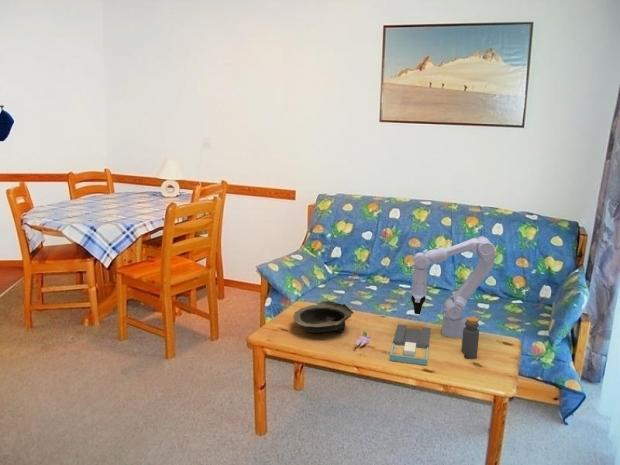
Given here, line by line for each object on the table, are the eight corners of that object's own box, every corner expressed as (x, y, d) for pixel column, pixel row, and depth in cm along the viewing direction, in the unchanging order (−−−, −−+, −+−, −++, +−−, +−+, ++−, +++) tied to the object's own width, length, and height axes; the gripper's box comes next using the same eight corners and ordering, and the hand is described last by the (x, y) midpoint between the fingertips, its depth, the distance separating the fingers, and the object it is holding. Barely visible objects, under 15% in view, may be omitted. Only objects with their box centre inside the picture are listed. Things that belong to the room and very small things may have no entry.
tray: (428, 352, 211) (428, 346, 211) (426, 365, 200) (427, 359, 200) (392, 348, 214) (393, 342, 214) (389, 361, 203) (389, 354, 203)
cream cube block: (415, 352, 210) (416, 343, 209) (414, 357, 206) (415, 347, 206) (404, 351, 211) (405, 341, 210) (404, 355, 207) (404, 345, 207)
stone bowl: (361, 325, 236) (361, 305, 233) (332, 349, 216) (332, 328, 213) (313, 312, 249) (312, 294, 246) (281, 334, 229) (280, 314, 226)
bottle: (474, 360, 206) (477, 322, 203) (459, 356, 209) (462, 319, 206) (478, 354, 211) (482, 317, 207) (463, 350, 214) (466, 314, 210)
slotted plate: (430, 334, 228) (430, 328, 228) (428, 352, 211) (428, 345, 211) (397, 330, 232) (397, 324, 231) (392, 348, 215) (393, 340, 214)
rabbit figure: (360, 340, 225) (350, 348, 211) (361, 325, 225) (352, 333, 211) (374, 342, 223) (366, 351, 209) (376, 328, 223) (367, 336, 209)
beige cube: (414, 357, 206) (415, 347, 206) (414, 361, 203) (414, 351, 202) (404, 355, 207) (404, 346, 206) (403, 360, 204) (403, 350, 203)
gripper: (410, 276, 231) (408, 306, 234) (408, 286, 217) (406, 318, 220) (427, 277, 229) (425, 308, 232) (426, 288, 215) (423, 320, 218)
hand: (417, 313), depth 226 cm, fingers closed
